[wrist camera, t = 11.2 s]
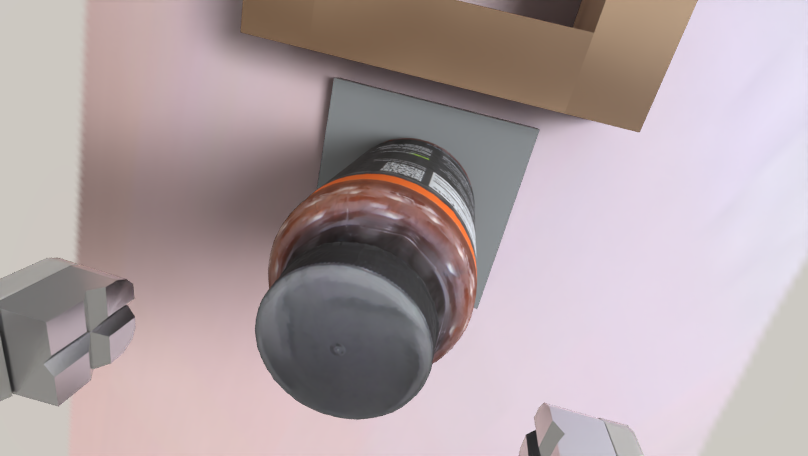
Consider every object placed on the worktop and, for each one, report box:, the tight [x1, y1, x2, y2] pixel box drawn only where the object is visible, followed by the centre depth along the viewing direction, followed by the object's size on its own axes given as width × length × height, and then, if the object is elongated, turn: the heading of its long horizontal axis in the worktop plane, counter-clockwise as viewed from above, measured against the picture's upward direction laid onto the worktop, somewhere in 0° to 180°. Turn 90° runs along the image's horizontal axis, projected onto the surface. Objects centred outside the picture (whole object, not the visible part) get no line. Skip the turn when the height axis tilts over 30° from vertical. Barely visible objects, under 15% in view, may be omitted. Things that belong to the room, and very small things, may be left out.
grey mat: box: [317, 78, 539, 309], centre depth 20 cm, size 9×9×1 cm
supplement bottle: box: [255, 138, 477, 419], centre depth 14 cm, size 6×6×11 cm
